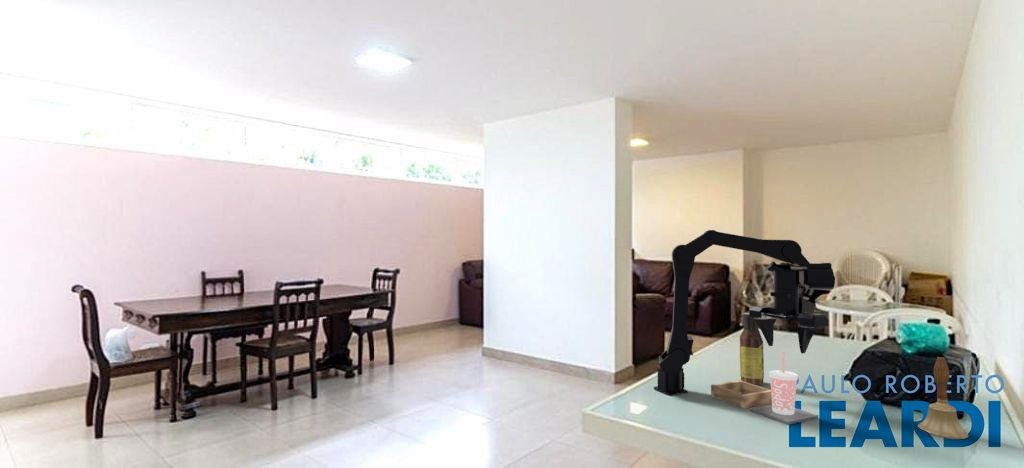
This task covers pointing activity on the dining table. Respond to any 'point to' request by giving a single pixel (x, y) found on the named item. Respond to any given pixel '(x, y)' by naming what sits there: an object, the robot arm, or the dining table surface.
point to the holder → (733, 395)
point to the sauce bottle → (751, 352)
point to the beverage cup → (783, 390)
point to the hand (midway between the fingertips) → (786, 349)
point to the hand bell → (942, 408)
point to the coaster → (787, 419)
